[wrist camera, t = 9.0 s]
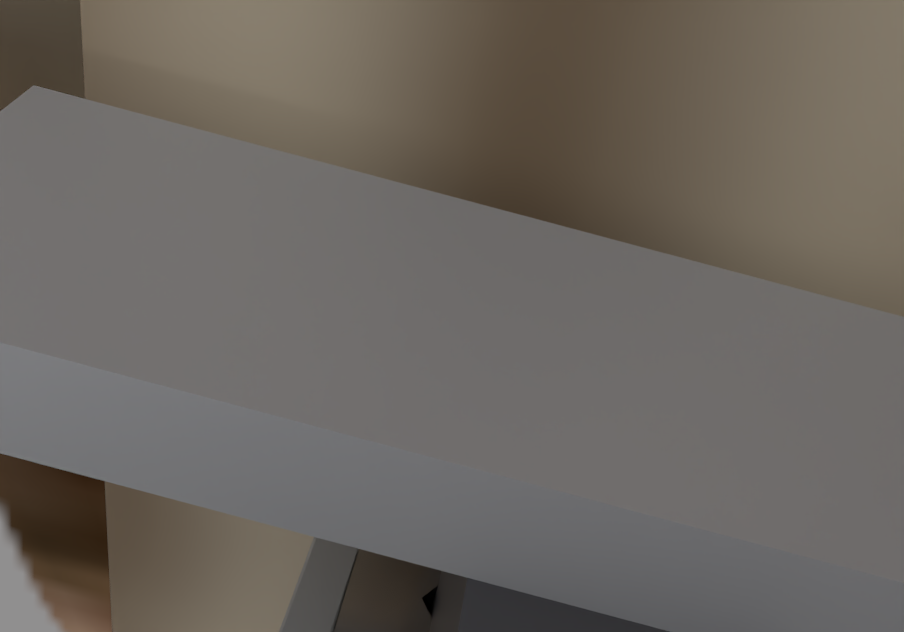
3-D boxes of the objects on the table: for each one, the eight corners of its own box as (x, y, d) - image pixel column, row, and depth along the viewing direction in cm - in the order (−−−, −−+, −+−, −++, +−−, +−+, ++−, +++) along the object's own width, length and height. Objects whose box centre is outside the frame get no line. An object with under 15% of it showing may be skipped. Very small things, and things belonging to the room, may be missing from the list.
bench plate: (1356, -386, 9) (1972, -500, 5) (669, 712, 22) (685, 939, 17) (282, -644, 9) (29, -959, 5) (211, 597, 22) (120, 795, 18)
